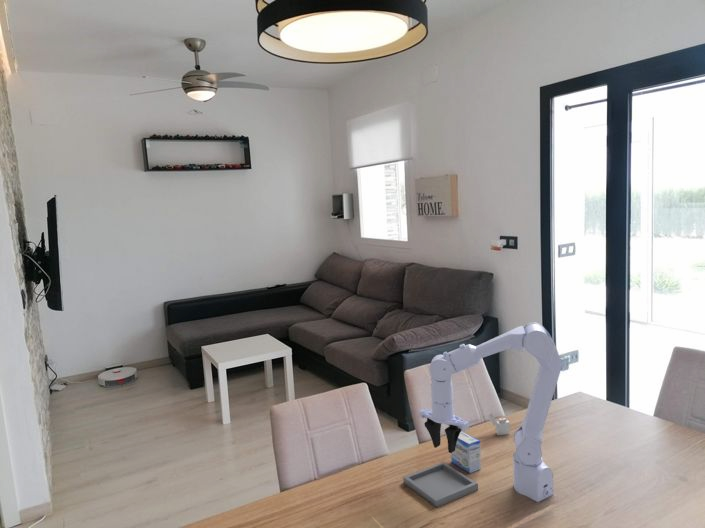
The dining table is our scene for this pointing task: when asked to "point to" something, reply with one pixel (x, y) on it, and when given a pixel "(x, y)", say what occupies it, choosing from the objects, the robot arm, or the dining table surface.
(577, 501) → the dining table surface
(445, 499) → the tray
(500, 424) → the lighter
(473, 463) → the medicine box
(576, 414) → the dining table surface
